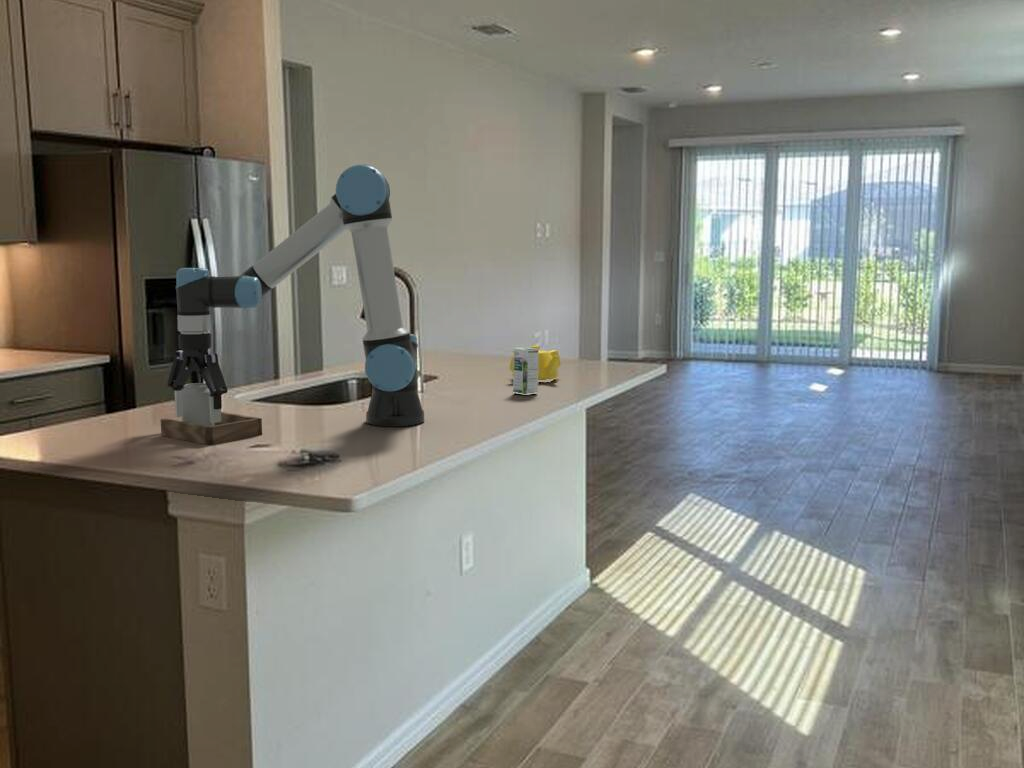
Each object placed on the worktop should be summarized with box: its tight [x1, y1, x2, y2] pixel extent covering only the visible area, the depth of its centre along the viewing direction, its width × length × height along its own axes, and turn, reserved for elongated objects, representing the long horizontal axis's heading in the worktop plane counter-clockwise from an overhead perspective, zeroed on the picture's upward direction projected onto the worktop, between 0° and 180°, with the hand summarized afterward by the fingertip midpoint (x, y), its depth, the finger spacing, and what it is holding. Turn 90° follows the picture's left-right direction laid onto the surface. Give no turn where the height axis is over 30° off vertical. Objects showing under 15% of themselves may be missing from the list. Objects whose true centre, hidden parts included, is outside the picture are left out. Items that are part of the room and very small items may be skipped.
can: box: [181, 382, 215, 427], centre depth 235 cm, size 8×8×12 cm
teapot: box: [509, 345, 562, 380], centre depth 329 cm, size 17×17×12 cm
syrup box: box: [512, 346, 539, 394], centre depth 298 cm, size 6×6×14 cm
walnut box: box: [160, 411, 263, 446], centre depth 233 cm, size 18×15×4 cm
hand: (198, 419), depth 236 cm, fingers open, 13 cm apart
